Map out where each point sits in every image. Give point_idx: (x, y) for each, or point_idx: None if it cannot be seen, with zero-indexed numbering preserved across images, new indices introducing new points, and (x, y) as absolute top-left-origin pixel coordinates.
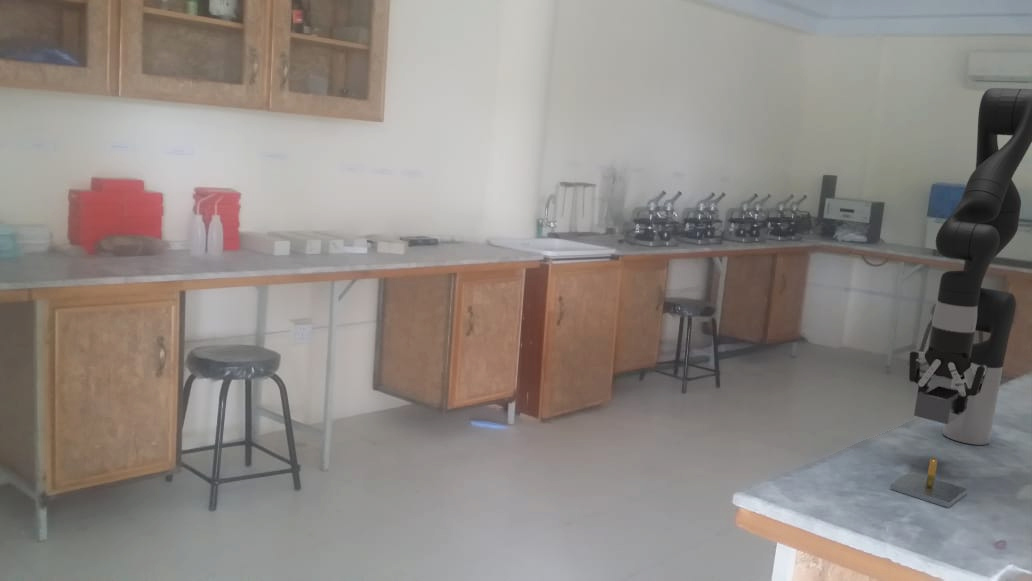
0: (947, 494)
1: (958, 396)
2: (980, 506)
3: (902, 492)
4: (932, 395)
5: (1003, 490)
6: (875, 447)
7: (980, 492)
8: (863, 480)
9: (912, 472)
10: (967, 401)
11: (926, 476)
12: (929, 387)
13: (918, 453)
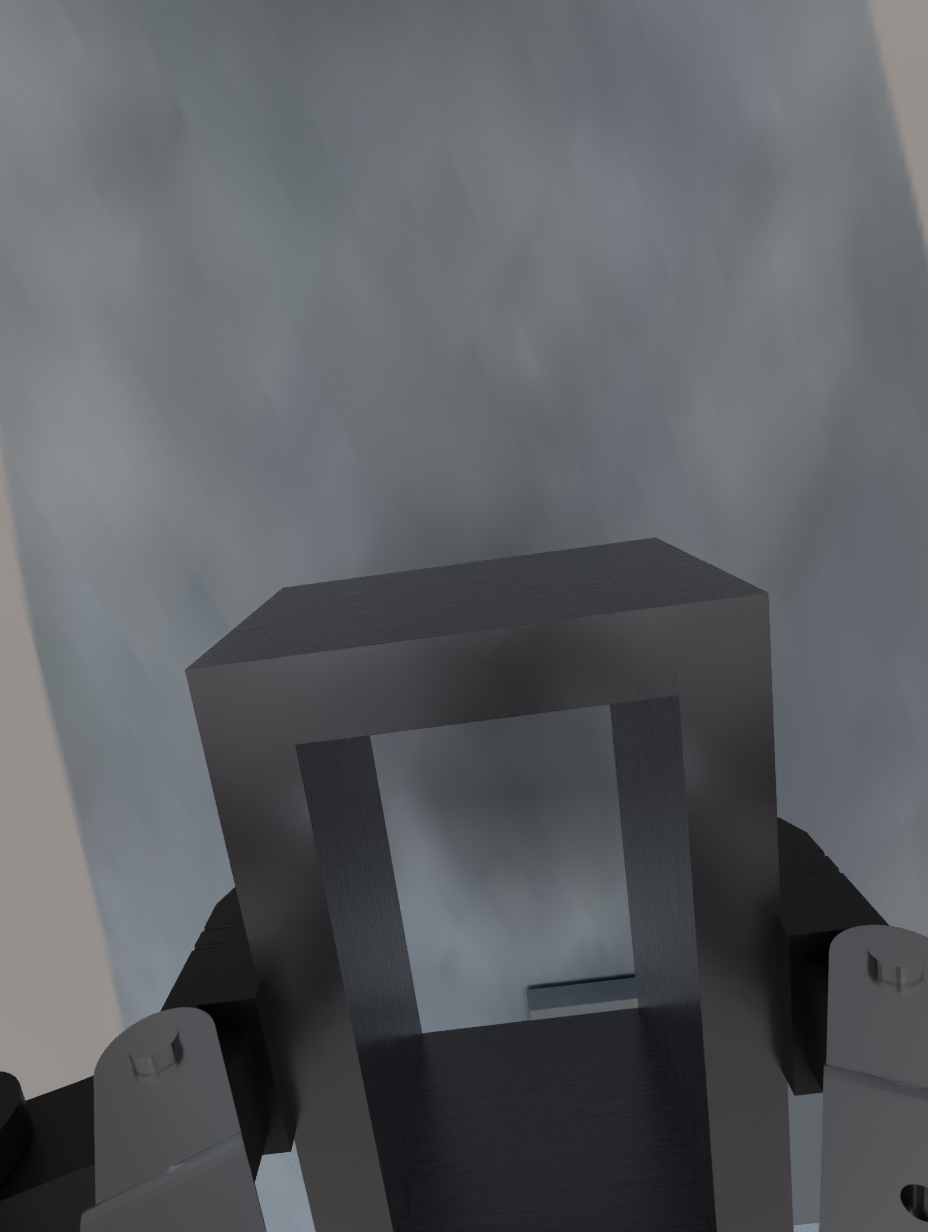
0: (793, 1137)
1: (801, 1087)
2: None
3: None
4: (356, 906)
5: (923, 686)
6: (134, 696)
7: (847, 840)
8: None
9: (541, 1015)
10: (861, 898)
11: (614, 1001)
12: (260, 958)
13: (332, 531)
